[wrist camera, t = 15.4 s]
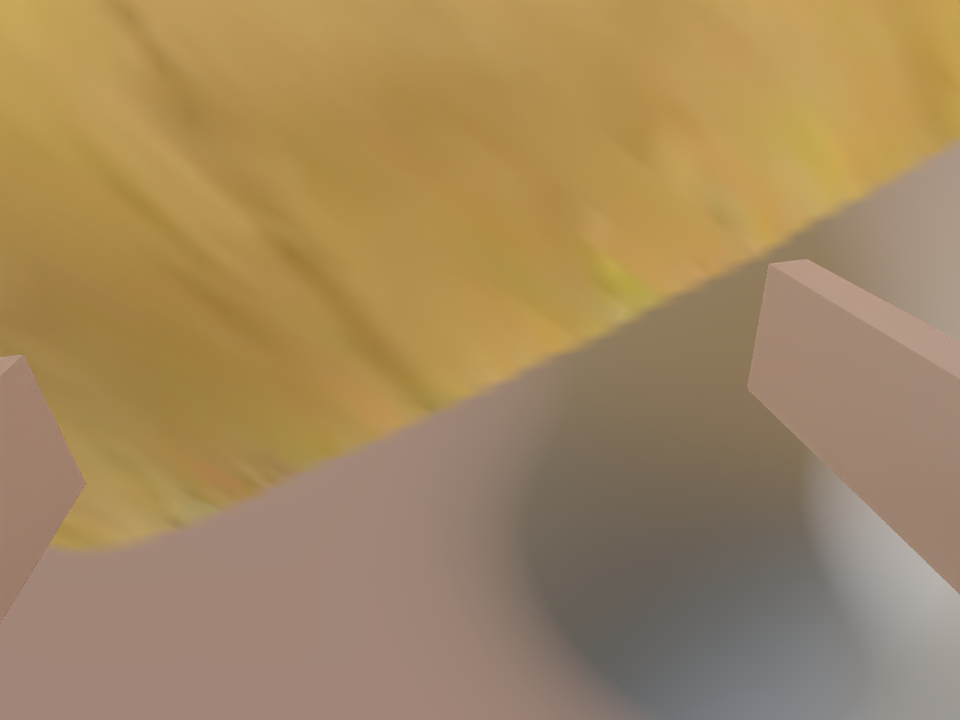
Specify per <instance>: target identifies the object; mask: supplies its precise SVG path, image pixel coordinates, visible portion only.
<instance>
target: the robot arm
mask: <svg viewBox="0 0 960 720" xmlns="http://www.w3.org/2000/svg"><path fill="white" fill-rule="evenodd" d="M747 389H748V390H749V391H750V392H751V393H752V394H753V395H754V396H755V397H757V399H759V400H760V401H761V402H762V403H763V404H764V405H765V406H766V407H767V408H768V409H769V410H770V411H771V412H772V413H773V414H774V415H775V416H776V417H777V418H778V419H779V420H780V421H781V422H782V423H783V424H784V425H785V426H786V427H787V428H789V429H790V430H791V431H792V432H793V433H794V434H795V435H796V436H797V437H798V438H799V439H800V440H801V441H802V442H803V443H804V444H805V445H806V446H807V447H808V448H809V449H810V450H811V451H812V452H813V453H814V454H815V455H816V456H817V457H819V458H820V459H821V460H822V461H823V462H824V463H825V464H826V465H827V466H828V467H829V468H830V469H831V470H832V471H833V472H834V473H835V474H836V475H837V476H838V477H839V478H840V479H841V480H842V481H843V482H844V483H845V484H846V485H847V486H849V487H850V488H851V489H852V490H853V491H854V492H855V493H856V494H857V495H858V496H859V497H860V498H861V499H862V500H863V501H864V502H865V503H866V504H867V505H868V506H869V507H870V508H871V509H872V510H873V511H874V512H875V513H876V514H877V515H878V516H879V517H881V519H883V520H884V521H885V522H886V523H887V524H888V525H889V526H890V527H891V528H892V529H893V530H894V531H895V532H896V533H897V534H898V535H899V536H900V537H901V538H902V539H903V540H904V541H905V542H906V543H907V544H908V545H909V546H910V547H911V548H913V549H914V550H915V551H916V552H917V553H918V554H919V555H920V556H921V557H922V558H923V559H924V560H925V561H926V562H927V563H928V564H929V565H930V566H931V567H932V568H933V569H934V570H935V571H936V572H937V573H938V574H939V575H940V576H941V577H942V578H943V579H945V580H946V581H947V582H948V583H949V584H950V585H951V586H952V587H953V588H954V589H955V590H956V591H957V592H958V593H959V594H960V342H959V341H957V340H955V339H954V338H952V337H950V336H948V335H946V334H944V333H942V332H941V331H939V330H937V329H935V328H933V327H931V326H930V325H928V324H926V323H924V322H922V321H920V320H919V319H916V318H915V317H913V316H911V315H909V314H907V313H905V312H903V311H902V310H900V309H898V308H896V307H894V306H892V305H891V304H889V303H887V302H885V301H883V300H881V299H880V298H878V297H876V296H874V295H872V294H870V293H869V292H867V291H865V290H863V289H861V288H859V287H857V286H856V285H854V284H852V283H850V282H848V281H846V280H845V279H843V278H841V277H839V276H837V275H835V274H834V273H832V272H830V271H828V270H826V269H824V268H822V267H821V266H819V265H817V264H815V263H813V262H811V261H809V260H808V259H804V260H796V261H788V262H780V263H771V264H769V266H768V272H767V278H766V283H765V289H764V295H763V301H762V307H761V313H760V318H759V324H758V329H757V336H756V341H755V347H754V352H753V358H752V364H751V370H750V375H749V381H748V387H747ZM85 484H86V483H85V481H84V479H83V477H82V475H81V473H80V471H79V469H78V467H77V465H76V463H75V461H74V458H73V456H72V454H71V452H70V450H69V448H68V446H67V444H66V442H65V440H64V438H63V436H62V433H61V431H60V429H59V427H58V425H57V423H56V421H55V419H54V417H53V415H52V413H51V411H50V409H49V406H48V404H47V402H46V400H45V398H44V396H43V394H42V392H41V390H40V388H39V386H38V384H37V381H36V379H35V377H34V375H33V373H32V371H31V369H30V367H29V365H28V363H27V361H26V359H25V357H24V354H21V355H13V356H4V357H0V623H1V621H2V620H3V618H4V617H5V615H6V613H7V612H8V610H9V608H10V607H11V605H12V604H13V602H14V600H15V599H16V597H17V595H18V594H19V592H20V590H21V589H22V587H23V586H24V584H25V582H26V580H27V579H28V577H29V576H30V574H31V572H32V571H33V569H34V567H35V566H36V564H37V563H38V561H39V559H40V558H41V556H42V554H43V553H44V551H45V549H46V548H47V546H48V545H49V543H50V541H51V540H52V538H53V536H54V535H55V533H56V531H57V530H58V528H59V527H60V525H61V523H62V522H63V520H64V518H65V517H66V515H67V513H68V512H69V510H70V509H71V507H72V505H73V504H74V502H75V500H76V499H77V497H78V495H79V494H80V492H81V491H82V489H83V487H84V486H85Z"/></svg>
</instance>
